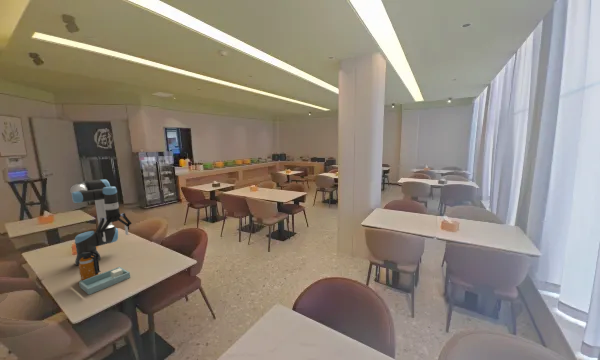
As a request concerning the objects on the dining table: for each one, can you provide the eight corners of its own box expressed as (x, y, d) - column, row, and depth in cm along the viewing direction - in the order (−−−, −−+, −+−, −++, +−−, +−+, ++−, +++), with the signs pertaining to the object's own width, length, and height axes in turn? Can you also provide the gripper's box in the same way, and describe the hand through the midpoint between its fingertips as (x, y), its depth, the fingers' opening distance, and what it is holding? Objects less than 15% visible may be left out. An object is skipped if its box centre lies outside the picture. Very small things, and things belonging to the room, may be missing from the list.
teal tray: (80, 288, 149) (78, 281, 149) (120, 272, 168) (119, 266, 167) (89, 295, 141) (88, 289, 140) (130, 278, 159) (129, 272, 159)
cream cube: (111, 278, 159) (110, 271, 158) (120, 274, 163) (119, 268, 162) (114, 280, 156) (113, 273, 155) (123, 276, 160) (122, 269, 160)
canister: (88, 276, 163) (84, 249, 161) (105, 275, 164) (101, 248, 162) (77, 283, 154) (73, 255, 152) (95, 282, 155) (91, 254, 153)
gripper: (91, 214, 149) (96, 245, 152) (134, 205, 170) (138, 232, 173) (86, 212, 153) (91, 243, 156) (129, 204, 174) (132, 231, 177)
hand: (116, 237), depth 165 cm, fingers open, 13 cm apart
